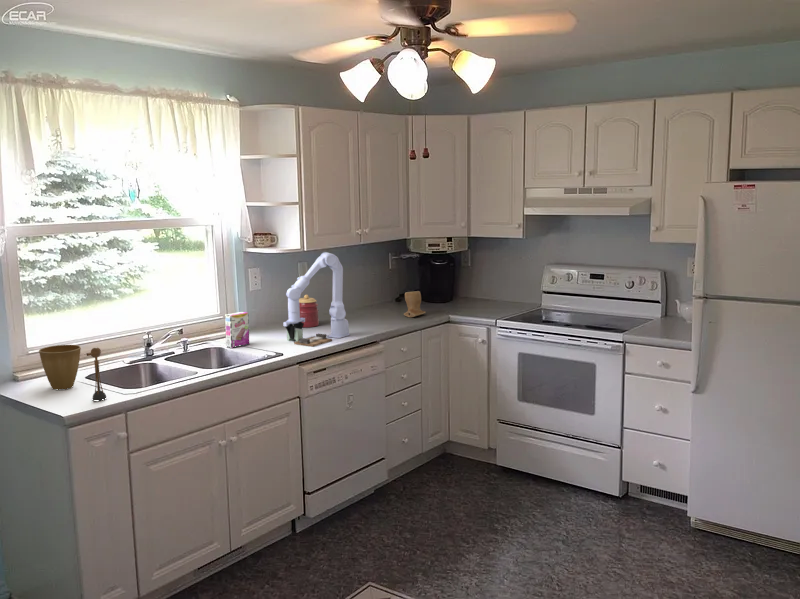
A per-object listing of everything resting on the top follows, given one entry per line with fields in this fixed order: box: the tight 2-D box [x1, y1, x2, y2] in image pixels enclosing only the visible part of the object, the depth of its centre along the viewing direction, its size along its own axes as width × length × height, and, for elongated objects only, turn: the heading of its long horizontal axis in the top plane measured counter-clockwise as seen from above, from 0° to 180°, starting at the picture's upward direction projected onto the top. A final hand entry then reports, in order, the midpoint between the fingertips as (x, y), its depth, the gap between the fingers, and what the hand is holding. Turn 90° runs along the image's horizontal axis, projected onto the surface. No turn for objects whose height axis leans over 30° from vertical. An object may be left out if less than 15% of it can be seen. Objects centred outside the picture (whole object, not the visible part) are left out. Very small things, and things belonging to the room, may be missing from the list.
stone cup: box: [403, 290, 426, 318], centre depth 426 cm, size 15×12×15 cm
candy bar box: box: [224, 311, 250, 349], centre depth 352 cm, size 11×5×16 cm, turn 141°
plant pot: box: [38, 344, 82, 391], centre depth 282 cm, size 15×15×16 cm
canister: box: [299, 294, 320, 328], centre depth 401 cm, size 13×13×18 cm
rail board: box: [293, 333, 333, 347], centre depth 358 cm, size 15×12×3 cm
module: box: [286, 328, 304, 342], centre depth 363 cm, size 4×7×6 cm, turn 58°
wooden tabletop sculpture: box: [86, 346, 107, 401], centre depth 264 cm, size 6×5×20 cm
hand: (294, 337), depth 363 cm, fingers closed on module, 4 cm apart
